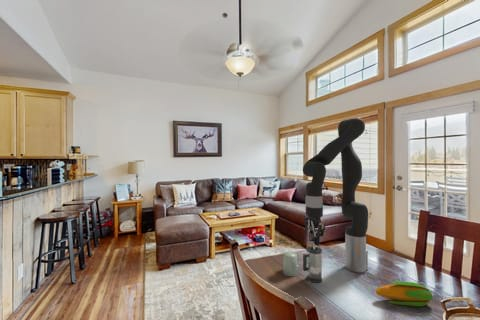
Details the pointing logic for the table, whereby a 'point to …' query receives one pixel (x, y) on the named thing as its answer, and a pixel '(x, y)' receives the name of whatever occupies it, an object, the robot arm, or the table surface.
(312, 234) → the plunger
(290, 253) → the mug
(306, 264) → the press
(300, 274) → the table surface
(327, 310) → the table surface
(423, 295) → the corn
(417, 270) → the table surface
